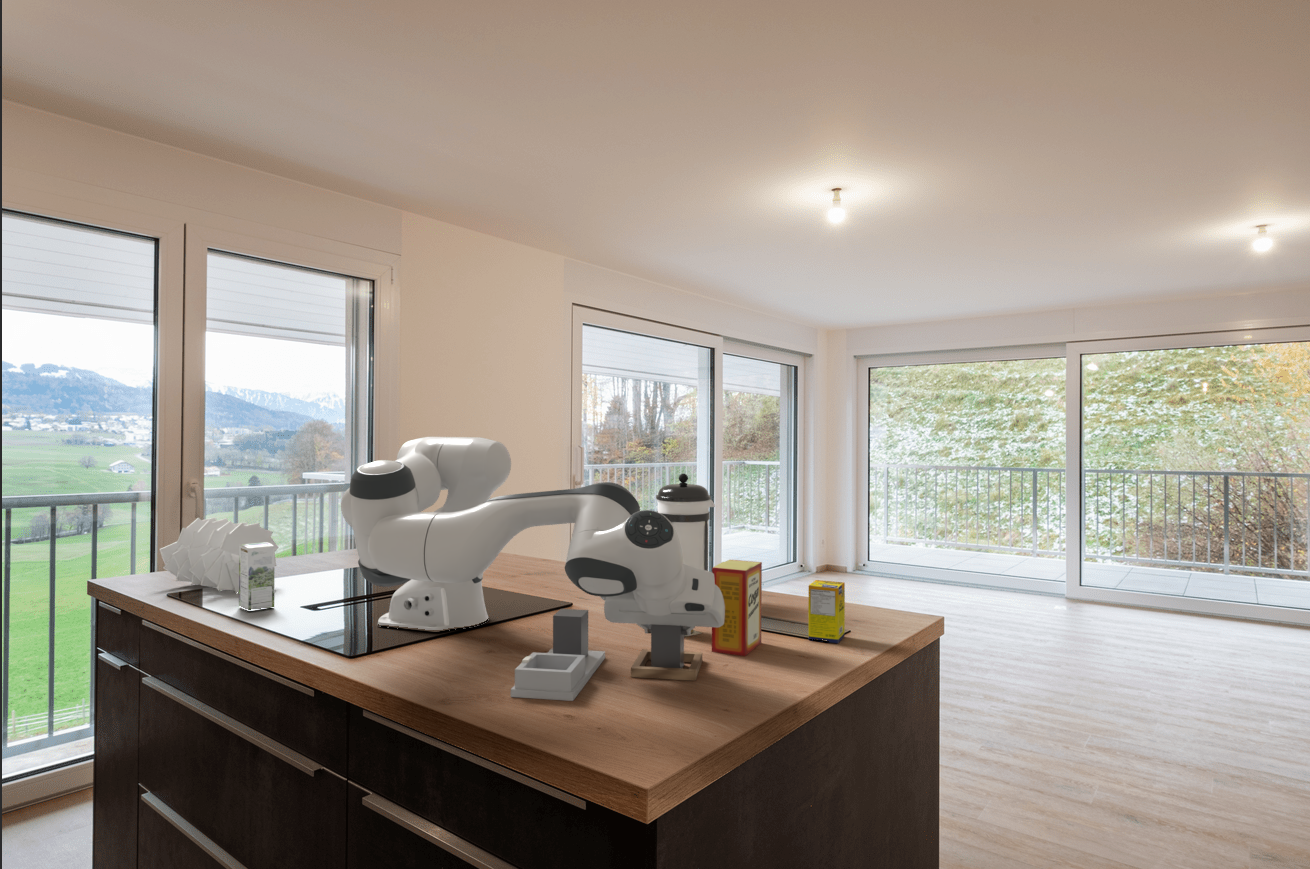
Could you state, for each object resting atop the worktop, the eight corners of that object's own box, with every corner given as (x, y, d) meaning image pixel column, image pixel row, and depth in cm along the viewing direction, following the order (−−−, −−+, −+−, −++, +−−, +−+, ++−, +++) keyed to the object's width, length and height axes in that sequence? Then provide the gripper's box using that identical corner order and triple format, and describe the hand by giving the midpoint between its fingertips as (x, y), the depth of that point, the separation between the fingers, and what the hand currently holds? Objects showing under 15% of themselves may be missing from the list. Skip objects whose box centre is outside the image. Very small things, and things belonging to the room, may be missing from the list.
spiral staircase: (210, 595, 211) (270, 602, 198) (145, 577, 197) (205, 583, 185) (236, 529, 218) (295, 531, 205) (175, 506, 204) (234, 507, 191)
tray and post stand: (573, 700, 124) (573, 641, 123) (510, 696, 125) (510, 638, 125) (605, 657, 145) (605, 607, 145) (551, 655, 147) (551, 604, 147)
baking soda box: (729, 638, 158) (729, 557, 158) (761, 642, 155) (761, 560, 155) (711, 651, 150) (712, 565, 149) (745, 656, 147) (745, 568, 146)
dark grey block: (651, 672, 137) (651, 601, 137) (655, 663, 142) (656, 595, 142) (680, 674, 137) (680, 603, 136) (683, 664, 142) (684, 596, 141)
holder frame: (630, 676, 135) (630, 668, 135) (642, 657, 146) (642, 649, 146) (695, 680, 133) (695, 671, 133) (702, 660, 144) (702, 652, 144)
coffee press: (670, 590, 201) (671, 470, 201) (726, 598, 192) (727, 473, 191) (628, 603, 187) (628, 474, 186) (685, 613, 178) (686, 477, 177)
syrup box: (265, 604, 185) (264, 541, 185) (275, 608, 181) (274, 544, 181) (238, 608, 181) (238, 544, 181) (248, 613, 177) (247, 547, 176)
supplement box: (844, 636, 160) (845, 581, 160) (838, 644, 155) (838, 587, 154) (815, 632, 163) (815, 579, 162) (807, 640, 157) (808, 584, 157)
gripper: (593, 601, 130) (607, 644, 140) (721, 606, 126) (725, 650, 136) (600, 568, 134) (612, 612, 144) (723, 572, 131) (727, 617, 140)
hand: (668, 630), depth 140 cm, fingers closed on dark grey block, 5 cm apart
